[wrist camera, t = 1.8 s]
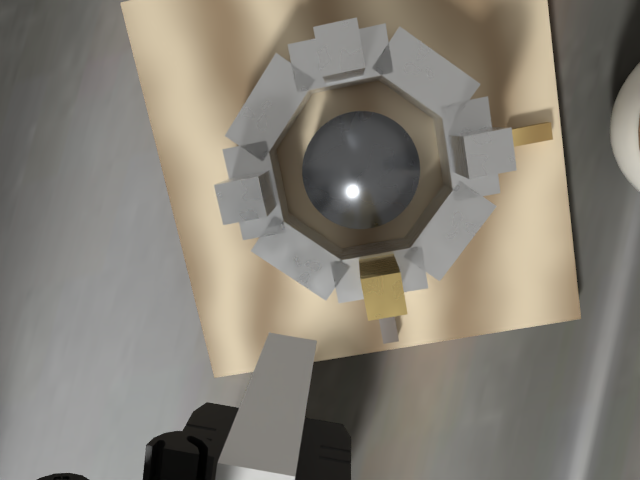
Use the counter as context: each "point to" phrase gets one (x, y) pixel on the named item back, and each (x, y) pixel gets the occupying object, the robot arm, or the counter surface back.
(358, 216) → the dark grey dome
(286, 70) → the ring nut
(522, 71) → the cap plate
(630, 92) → the lidded jar
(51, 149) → the counter surface
